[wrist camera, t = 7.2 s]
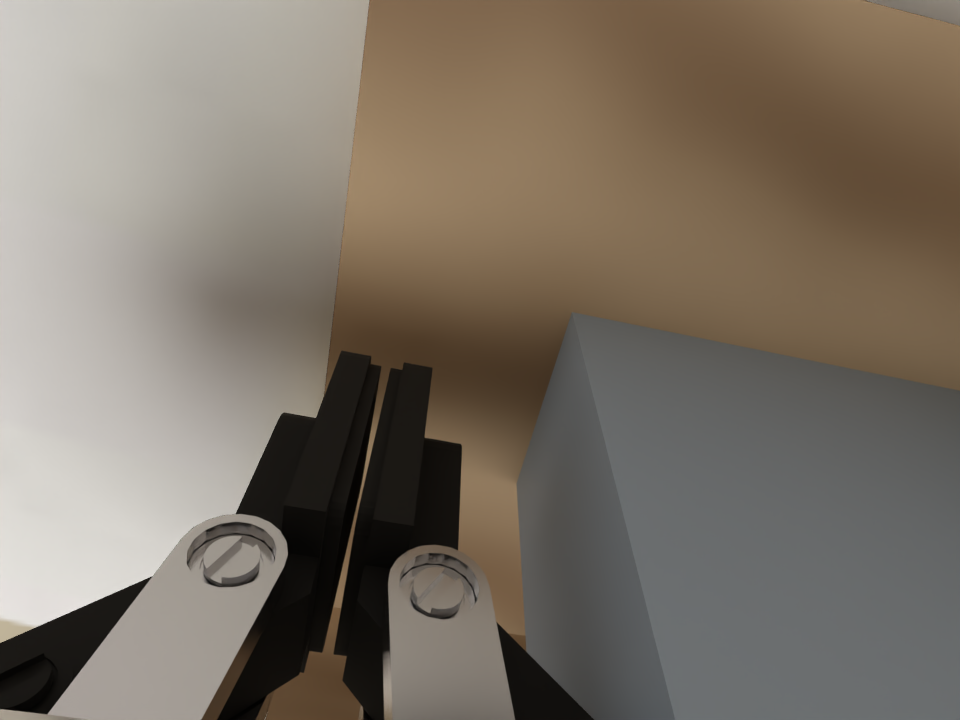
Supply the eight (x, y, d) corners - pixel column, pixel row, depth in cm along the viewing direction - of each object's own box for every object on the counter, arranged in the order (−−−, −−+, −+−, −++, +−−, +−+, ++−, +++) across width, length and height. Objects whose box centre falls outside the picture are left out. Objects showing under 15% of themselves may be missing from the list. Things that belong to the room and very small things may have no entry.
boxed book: (572, 312, 13) (704, 836, 5) (1110, 421, 14) (1890, 979, 6) (516, 483, 15) (549, 1028, 7) (984, 564, 16) (1441, 1105, 8)
